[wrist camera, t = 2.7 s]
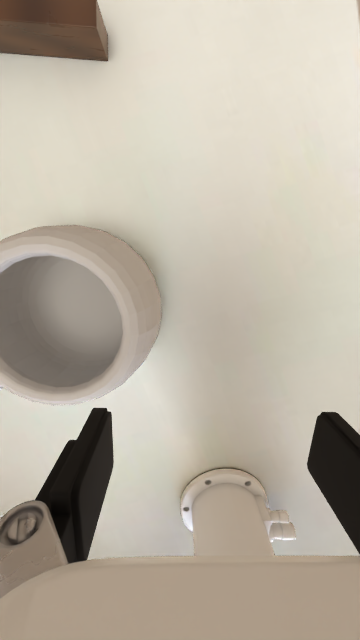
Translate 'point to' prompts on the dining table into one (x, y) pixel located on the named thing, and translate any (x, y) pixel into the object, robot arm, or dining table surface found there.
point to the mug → (73, 313)
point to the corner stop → (53, 28)
